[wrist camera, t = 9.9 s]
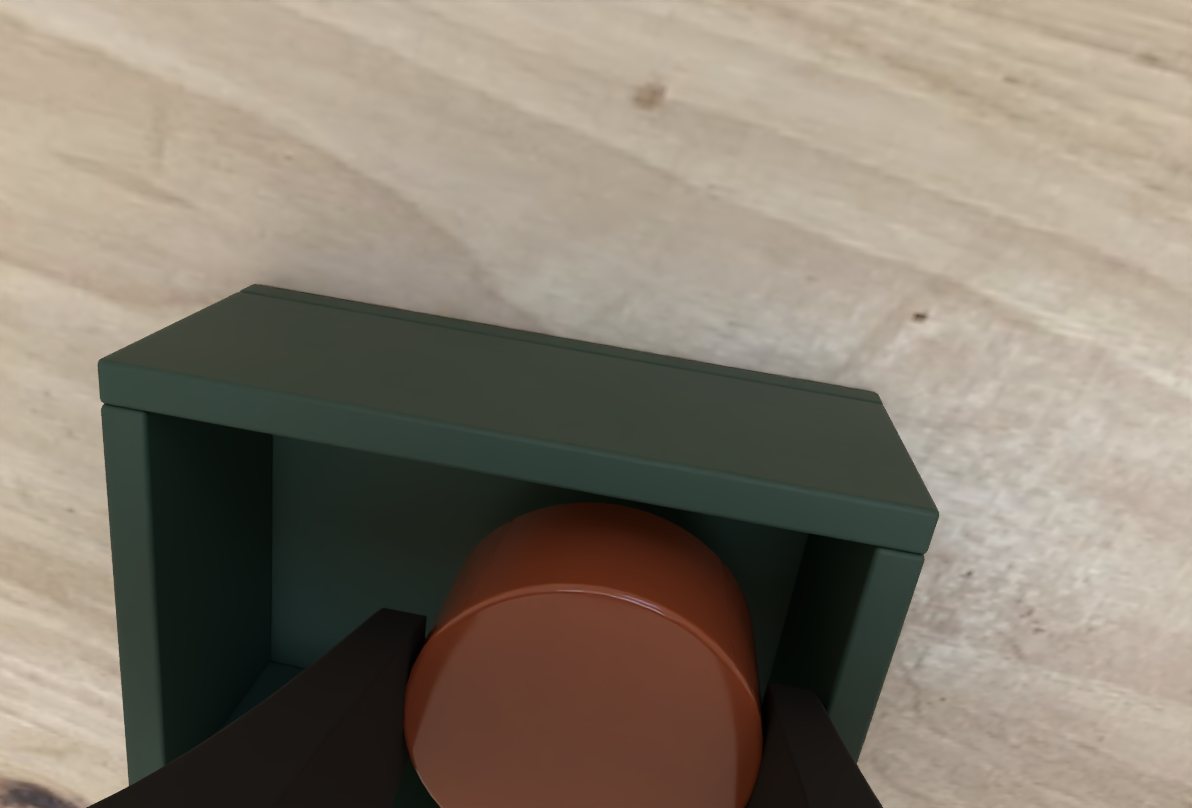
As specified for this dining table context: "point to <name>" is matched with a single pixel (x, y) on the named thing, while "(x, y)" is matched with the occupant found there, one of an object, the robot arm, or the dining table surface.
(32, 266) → the dining table surface
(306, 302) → the tub
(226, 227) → the dining table surface
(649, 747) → the cylinder
